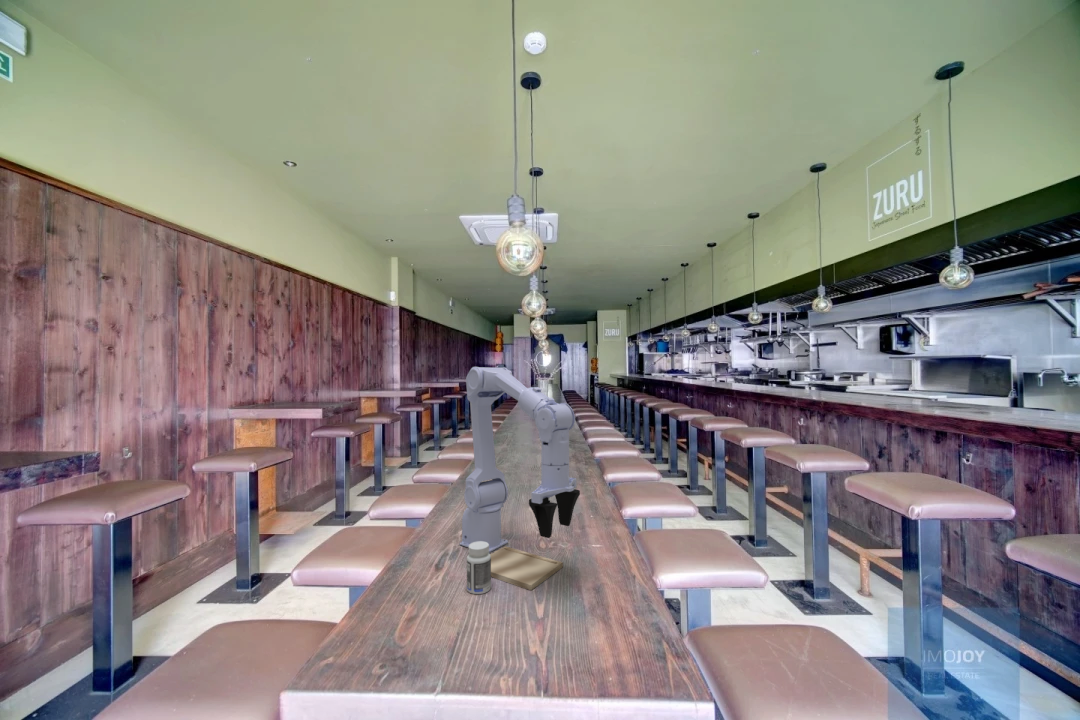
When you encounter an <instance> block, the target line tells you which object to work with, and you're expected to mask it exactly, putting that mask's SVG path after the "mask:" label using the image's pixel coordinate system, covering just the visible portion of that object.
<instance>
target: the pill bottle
mask: <svg viewBox="0 0 1080 720" xmlns="http://www.w3.org/2000/svg"><path fill="white" fill-rule="evenodd" d="M490 554H491V553H489V544H488V543H487V542H484V541H478V542H473V543H471V544H470V545H469V548H468V555H467V556H466V590H467V592H469V593H470V594H472V595H482V594H485V593H487V592H489V591H490V590H491V589H492V577H491V555H490Z"/></svg>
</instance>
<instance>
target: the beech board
mask: <svg viewBox="0 0 1080 720" xmlns="http://www.w3.org/2000/svg"><path fill="white" fill-rule="evenodd" d="M489 554H490V555H491V578H494V579H496V580H499V581H502V582H505V583H508V584H511V585H514V586H517V587H519V588H522V589H525V590H528V591H533V590H534V589H535V588H536V587H538V586H540V585H541V584H542V583H543V582H545V581H546V580H547V579H549V578H550V577H551V576H553V575H554V574H556V573H557V572H558V571H559V570H561V569H562V568H564V566H563V565H564V564H563V563H564V562H562V561H560V560H556V559H552V558H548V557H545V556H541V555H538V554H534V553H531V552H527V551H524V550H520V549H517V548H513V547H509V546H502V547H500V548H498V550H497V549H496V550H494V551H493V552H491V553H489Z"/></svg>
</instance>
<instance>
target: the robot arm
mask: <svg viewBox="0 0 1080 720" xmlns="http://www.w3.org/2000/svg"><path fill="white" fill-rule="evenodd" d="M465 382H466V383H465V385H466V394H467V395H466V396H467V397H466V398H467V400H468V401H469V403H470V404H469V405H470V419H471V430H472V431H471V433H472V448H473V459H474V470H473V471H472V472H471V473H470V474H469V475H467V477H466V478H465V488H464V489H465V490H464V493H463V495H464V503H465V504H466V506H467V507H466V508H465V510H464V511H463V514H462V518H461V542H459V545H460V546H463V547H466V548H468V549H469V545H470V544H471V543H473V542H478V541H484V542H487V543H488V544H489V554H491V553H493V552H494V551H496V550H497V549H500V548H502V547H504V545H507V544H508V543H509V540H508V539H504V538H502V508H504V504H505V503H506V502H507V500H508V497H509V489H508V488H509V486H508V484H507V483H506V477H505V473H504V472H502V471H501V470H500V469H498V468H497V465H496V464H497V463H496V452H495V451H496V450H495V442H494V441H495V440H494V429H493V415H492V405H493V403H494V402H495V401H497V400H498V399H500V397H501V396H503V395H504V394H505V393H506V394H507V395H509V396H510V397H511V398H513V399H515V400H516V401H517V405H518V408H519V409H520V410H521V411H522V412H524V413H525V414H526V415H527V416H528V417H530V418H531V419H532V420H533V421H534V423H535V428H537V431H538V438H539V441H540V442H541V443H540V445H541V447H540V448H541V451H540V452H541V453H540V456H541V461H540V462H541V465H540V467H541V468H540V469H541V470H540V471H541V472H540V474H541V475H540V476H541V477H540V478H541V480H540V481H541V482H540V485H538V487H537V488H536V489H535V490H534V491H531V492H530V493H531V498H530V499H528V506H529V507H530V509H531V510H532V512H533V515H534V517H535V521H536V524H537V528H538V532H539V536H540V537H542V538H547V539H550V538H551V537H552V534H553V523H554V515H555V513H556V510H557V514H558V521H559V525H560V526H565V527H570V525H571V522H572V516H573V513H574V510H575V506H576V502H577V500H578V499H579V497H580V494H581V490H579V489H575V488H577V478H575V477H570V430H572V428H573V427H574V425H575V423H576V422H575V421H576V416H575V412H574V409H573V408H572V407H571V406H570V405H569V404H568V403H566V402H561V403H558V402H556V401H555V398H553V397H549V396H548V395H546V394H545V393H543V392H542V389H541V388H540V387H538V386H535V387H527V386H526V385H524V384H523V383H522V382H521V381H519V380H518V379H517V378H516V377H515V376H514V375H513V373H512V370H510V369H508V368H507V367H487V366H486V367H483V366H482V367H479V366H472V367H471V368H470V370H469V371H468V373H467V375H466V378H465ZM554 496H555V500H556V502H552V501H551V499H550V498H551V497H554Z"/></svg>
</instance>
